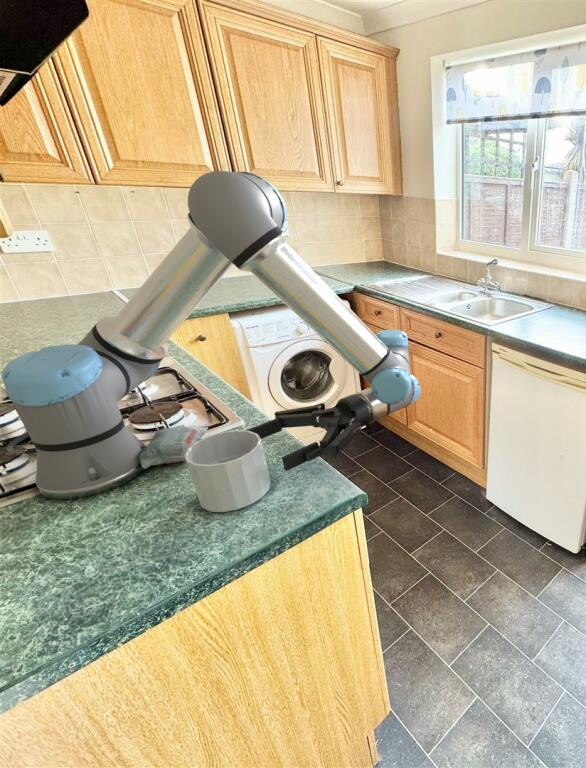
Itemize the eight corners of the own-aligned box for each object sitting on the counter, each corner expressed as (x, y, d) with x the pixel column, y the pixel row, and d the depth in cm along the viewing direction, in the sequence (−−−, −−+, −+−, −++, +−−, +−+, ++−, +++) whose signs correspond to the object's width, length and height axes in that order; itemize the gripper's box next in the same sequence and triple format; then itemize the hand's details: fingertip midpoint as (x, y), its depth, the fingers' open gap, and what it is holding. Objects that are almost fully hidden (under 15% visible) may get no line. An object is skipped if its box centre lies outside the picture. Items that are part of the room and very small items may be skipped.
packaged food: (210, 436, 91) (204, 417, 89) (197, 468, 81) (190, 446, 79) (161, 443, 88) (154, 422, 86) (141, 476, 78) (132, 454, 76)
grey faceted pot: (185, 512, 71) (168, 463, 66) (226, 473, 80) (214, 428, 76) (248, 516, 71) (235, 467, 66) (282, 476, 80) (272, 432, 76)
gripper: (399, 442, 89) (305, 494, 73) (329, 406, 101) (236, 443, 85) (397, 412, 86) (298, 458, 70) (325, 378, 98) (227, 411, 82)
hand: (263, 450), depth 77 cm, fingers open, 13 cm apart
